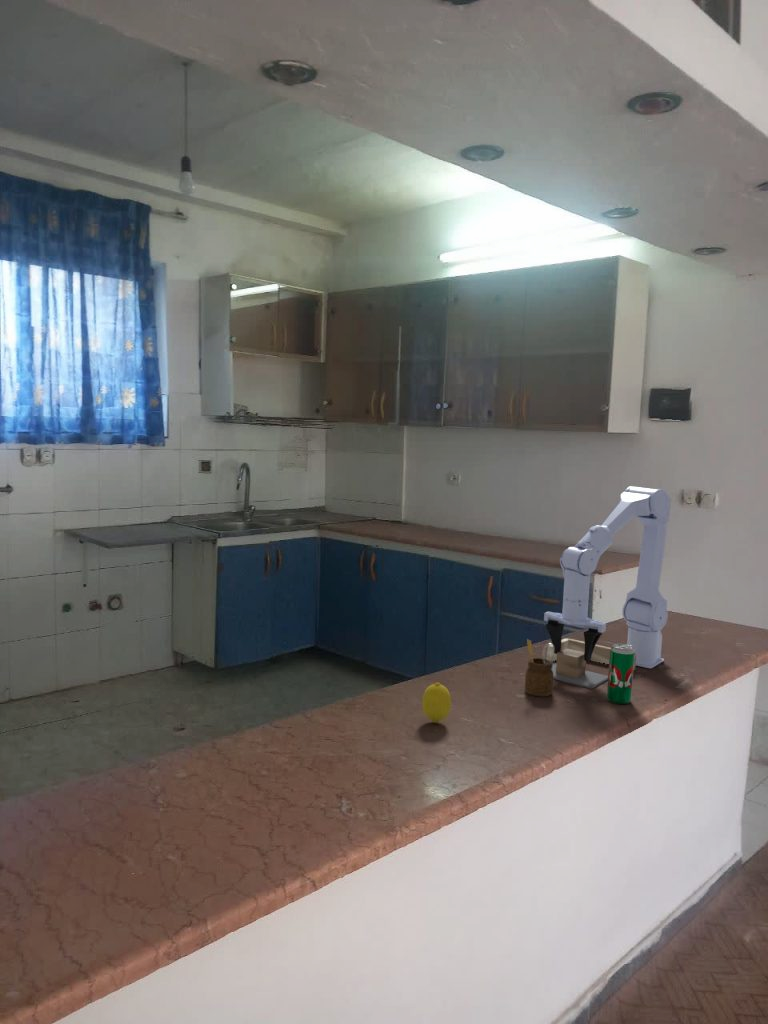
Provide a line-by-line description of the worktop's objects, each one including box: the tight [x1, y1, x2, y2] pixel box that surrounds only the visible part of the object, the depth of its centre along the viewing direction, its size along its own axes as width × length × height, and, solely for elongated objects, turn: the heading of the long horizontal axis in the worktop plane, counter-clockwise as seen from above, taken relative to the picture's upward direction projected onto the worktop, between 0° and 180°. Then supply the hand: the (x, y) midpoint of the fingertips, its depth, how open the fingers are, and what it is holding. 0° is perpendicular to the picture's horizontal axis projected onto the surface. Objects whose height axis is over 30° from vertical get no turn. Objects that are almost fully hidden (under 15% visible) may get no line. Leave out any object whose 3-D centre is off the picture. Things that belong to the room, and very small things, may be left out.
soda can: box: [606, 643, 635, 705], centre depth 165 cm, size 5×5×12 cm
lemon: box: [421, 682, 452, 724], centre depth 149 cm, size 6×6×8 cm
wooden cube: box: [555, 649, 587, 679], centre depth 181 cm, size 5×5×5 cm
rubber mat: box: [552, 662, 608, 690], centre depth 182 cm, size 10×15×1 cm, turn 51°
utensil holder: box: [524, 638, 554, 698], centre depth 169 cm, size 6×6×12 cm
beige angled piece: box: [546, 637, 637, 671], centre depth 190 cm, size 10×18×4 cm, turn 51°
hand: (572, 656), depth 181 cm, fingers open, 7 cm apart
